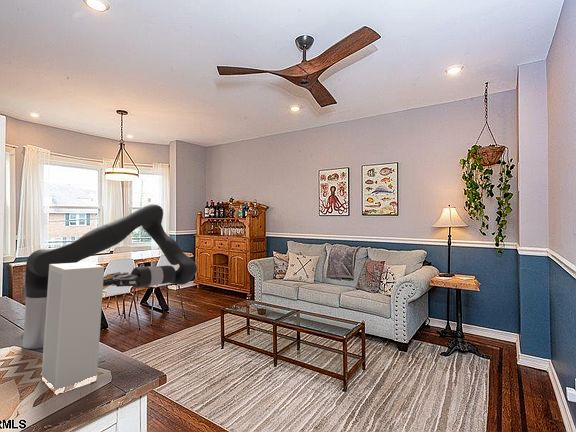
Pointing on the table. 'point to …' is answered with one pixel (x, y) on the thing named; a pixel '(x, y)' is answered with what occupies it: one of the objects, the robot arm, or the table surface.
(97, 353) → the tall grey pillar
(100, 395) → the table surface
